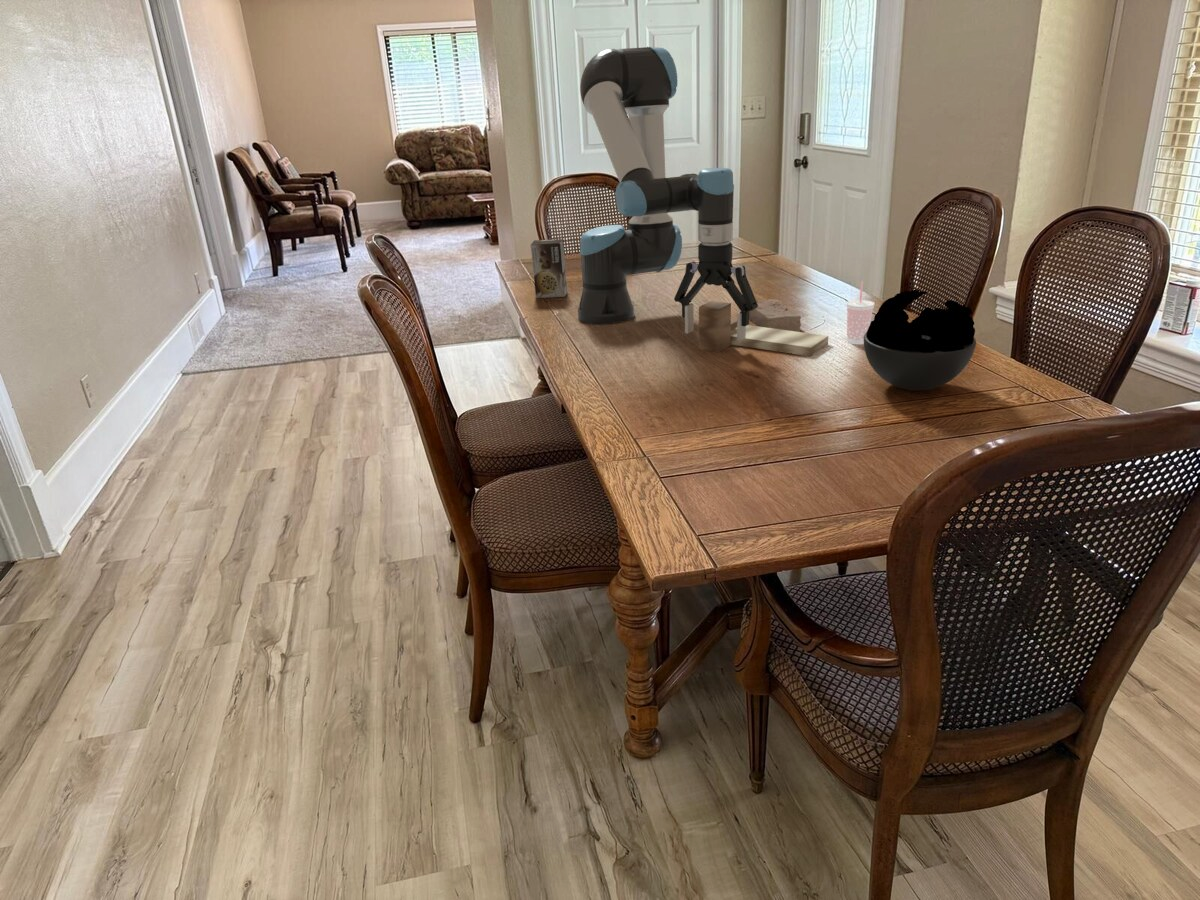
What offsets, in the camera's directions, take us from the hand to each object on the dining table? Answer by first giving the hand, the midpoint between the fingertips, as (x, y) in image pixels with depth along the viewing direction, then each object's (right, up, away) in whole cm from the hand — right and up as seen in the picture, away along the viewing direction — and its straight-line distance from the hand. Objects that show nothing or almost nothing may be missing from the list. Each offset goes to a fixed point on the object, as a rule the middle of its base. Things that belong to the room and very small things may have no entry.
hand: (714, 335), depth 185 cm
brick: (+17, +5, +16) cm, 24 cm away
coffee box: (-41, +20, +57) cm, 73 cm away
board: (+12, -1, +2) cm, 13 cm away
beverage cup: (+33, -2, -1) cm, 33 cm away
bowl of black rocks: (+35, -14, -29) cm, 47 cm away
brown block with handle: (+2, -1, +4) cm, 4 cm away
